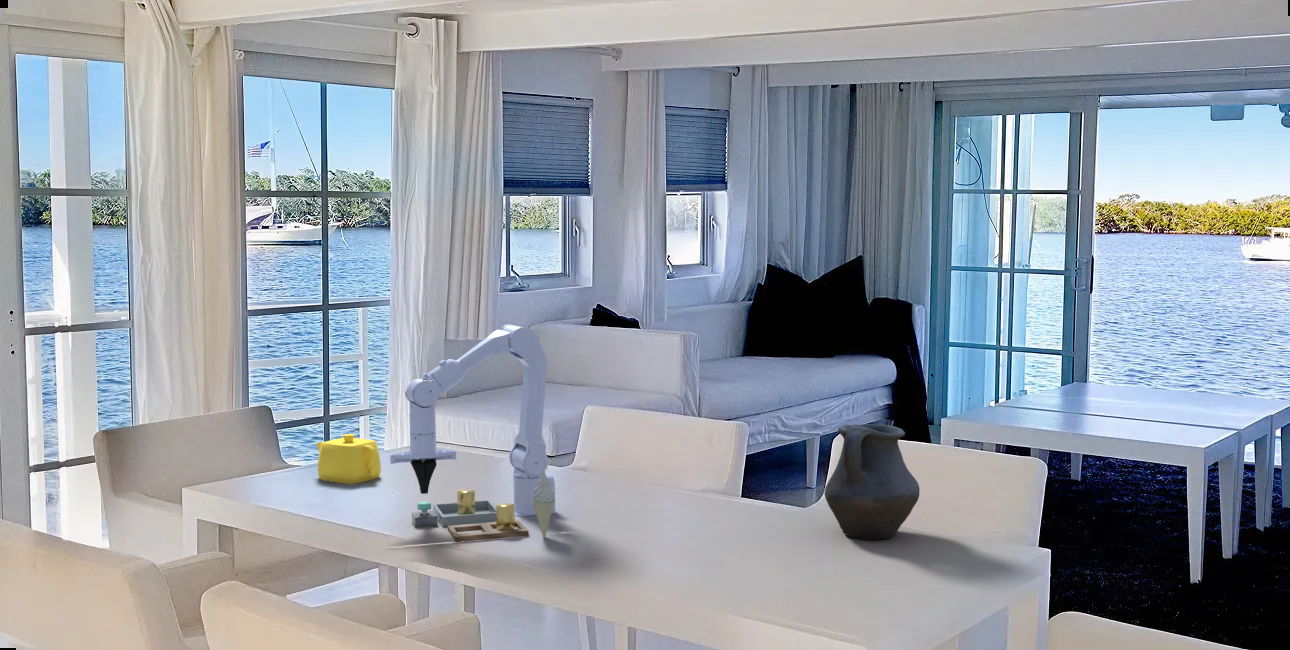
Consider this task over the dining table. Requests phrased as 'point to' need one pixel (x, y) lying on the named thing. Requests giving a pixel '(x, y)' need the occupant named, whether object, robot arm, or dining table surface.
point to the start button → (424, 507)
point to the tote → (449, 515)
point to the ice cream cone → (543, 502)
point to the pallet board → (486, 531)
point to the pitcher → (871, 483)
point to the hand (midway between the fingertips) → (424, 492)
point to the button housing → (424, 519)
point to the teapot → (348, 460)
